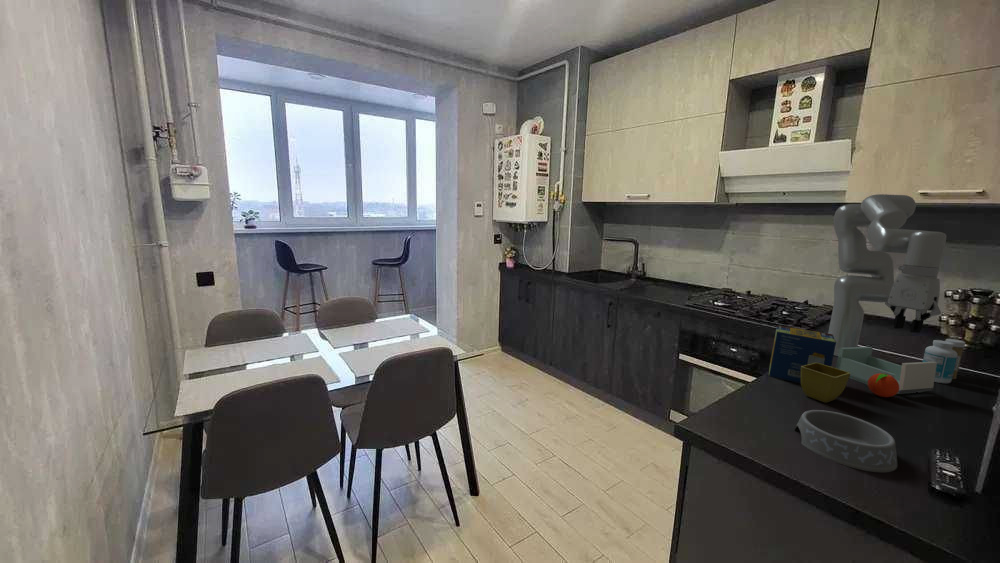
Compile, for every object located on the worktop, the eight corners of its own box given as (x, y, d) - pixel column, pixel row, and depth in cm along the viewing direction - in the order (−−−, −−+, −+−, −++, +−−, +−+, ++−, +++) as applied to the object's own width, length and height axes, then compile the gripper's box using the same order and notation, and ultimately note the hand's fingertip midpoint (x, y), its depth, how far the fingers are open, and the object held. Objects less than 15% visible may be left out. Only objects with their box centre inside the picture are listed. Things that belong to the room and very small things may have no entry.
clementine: (887, 403, 116) (892, 380, 115) (858, 393, 122) (863, 371, 121) (901, 399, 119) (906, 376, 118) (872, 389, 125) (877, 368, 124)
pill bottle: (943, 378, 139) (952, 341, 136) (956, 386, 132) (966, 347, 130) (914, 373, 142) (923, 337, 139) (925, 381, 135) (935, 342, 133)
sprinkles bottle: (957, 378, 140) (966, 341, 137) (954, 380, 137) (964, 343, 135) (938, 373, 143) (947, 337, 141) (935, 375, 141) (944, 339, 139)
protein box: (769, 367, 140) (776, 324, 138) (824, 379, 132) (833, 334, 129) (768, 376, 132) (775, 331, 129) (827, 389, 123) (837, 341, 121)
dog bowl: (807, 458, 86) (812, 435, 85) (786, 420, 103) (790, 400, 102) (912, 483, 79) (918, 458, 79) (871, 438, 96) (876, 417, 95)
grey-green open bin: (834, 372, 139) (839, 347, 137) (863, 370, 142) (868, 346, 140) (892, 394, 122) (898, 366, 121) (923, 392, 126) (930, 364, 124)
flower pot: (829, 407, 111) (835, 377, 109) (794, 394, 118) (800, 365, 117) (845, 402, 115) (851, 372, 113) (810, 389, 122) (815, 362, 121)
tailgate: (897, 392, 121) (901, 363, 120) (928, 389, 124) (933, 361, 123) (901, 393, 120) (905, 364, 119) (933, 391, 123) (937, 362, 122)
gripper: (879, 267, 128) (867, 323, 132) (946, 276, 113) (931, 338, 116) (896, 268, 130) (884, 322, 133) (965, 276, 114) (949, 338, 117)
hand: (906, 329), depth 124 cm, fingers open, 3 cm apart
